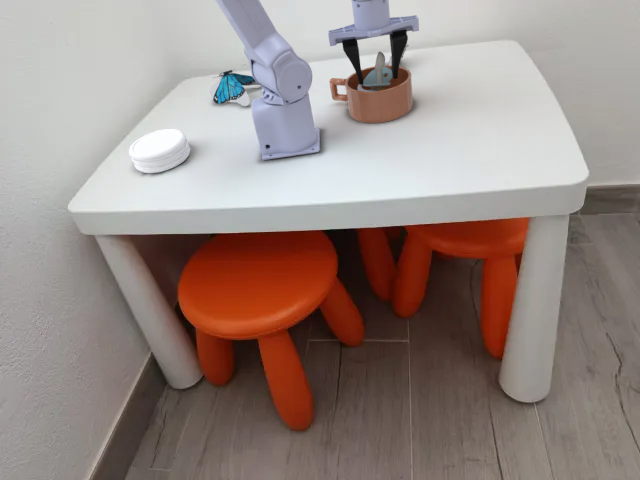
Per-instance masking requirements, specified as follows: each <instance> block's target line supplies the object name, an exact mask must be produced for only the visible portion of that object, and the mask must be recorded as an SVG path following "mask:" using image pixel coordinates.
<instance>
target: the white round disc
mask: <svg viewBox="0 0 640 480" xmlns="http://www.w3.org/2000/svg"><path fill="white" fill-rule="evenodd" d="M128 154H129V157H130V158H131V161H132V163H133V165H134V168H135V169H136V170H137V171H138V172H141V173H145V174H156V173H162V172H166V171H168V170H171V169H174V168H177V167H178V166H180V165H181V164H182V163H184V162H185V161H187V158H188V157H189V156H190V154H191V146H190V145H189V141H188V139H187V136H186V134H185V132H184V131H182V130H179V129H176V128H163V129H158V130H155V131H152V132H149V133H147V134H143V136H141V137H139V138H137V139H136V140H135V141H134V142H133V143H132V144H131V145H130V146H129V148H128Z"/></svg>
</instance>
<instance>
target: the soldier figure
mask: <svg viewBox="0 0 640 480" xmlns="http://www.w3.org/2000/svg"><path fill="white" fill-rule="evenodd" d="M409 46H410V44H408V43H407V44H406V46H405V48H404V51H403V54H402V57H401V60H400V64H399V66H400V67H402V59H403V58H404V55H405V53H406V51H407V48H408V47H409ZM384 65H392V55H391V56H390V57H389V60H388V61H387V62H385V64H384Z"/></svg>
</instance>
